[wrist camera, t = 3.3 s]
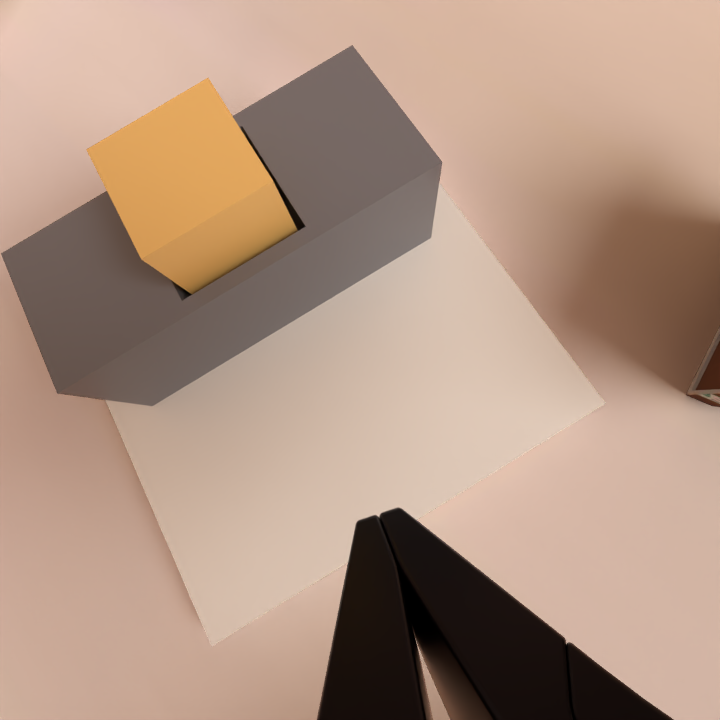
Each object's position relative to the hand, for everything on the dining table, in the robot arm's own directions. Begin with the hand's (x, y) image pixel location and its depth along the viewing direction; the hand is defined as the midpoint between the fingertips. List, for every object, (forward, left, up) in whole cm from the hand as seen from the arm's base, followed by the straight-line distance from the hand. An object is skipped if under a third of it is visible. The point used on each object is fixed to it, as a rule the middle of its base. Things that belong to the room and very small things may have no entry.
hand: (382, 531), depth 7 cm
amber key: (+11, +6, -6) cm, 13 cm away
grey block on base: (+6, +4, -12) cm, 14 cm away
